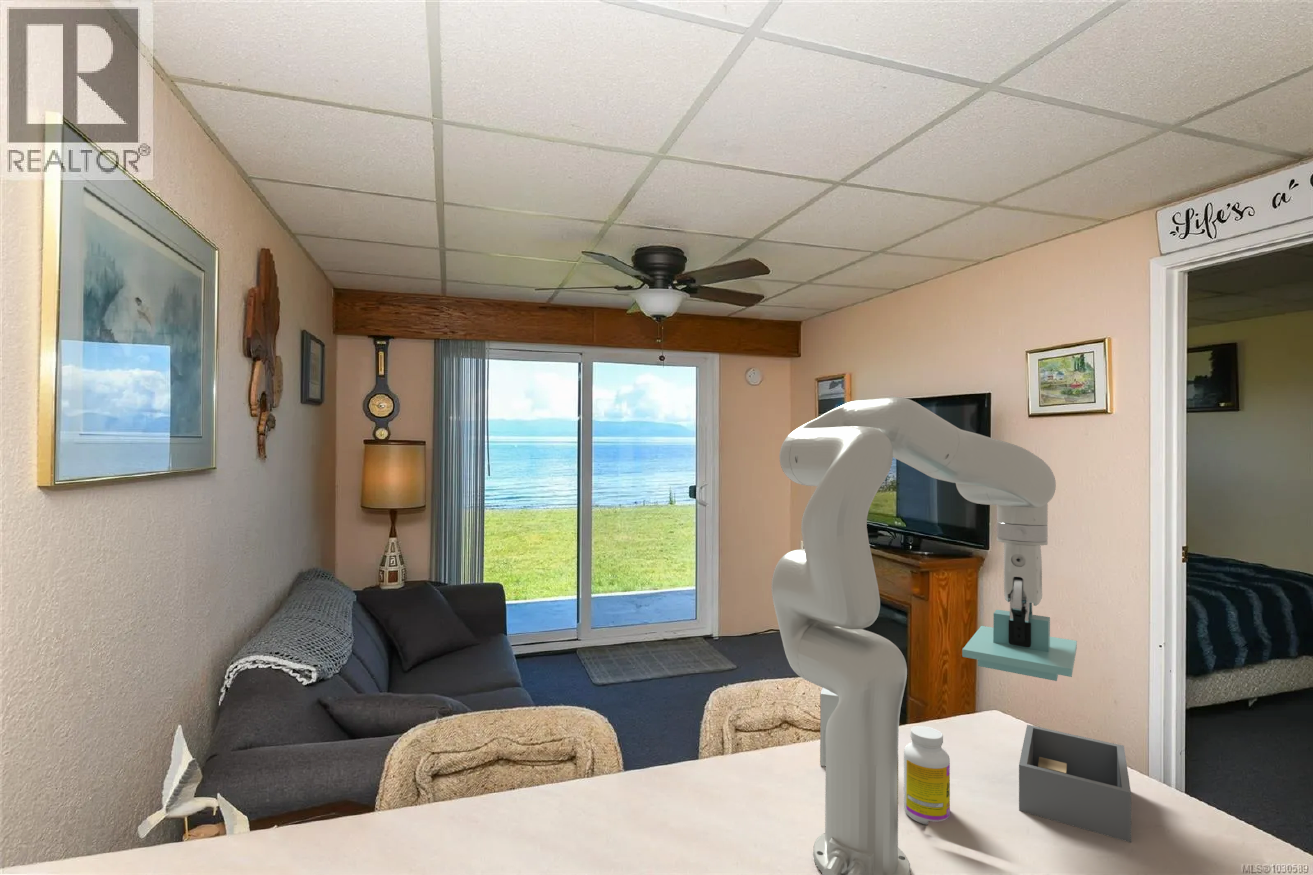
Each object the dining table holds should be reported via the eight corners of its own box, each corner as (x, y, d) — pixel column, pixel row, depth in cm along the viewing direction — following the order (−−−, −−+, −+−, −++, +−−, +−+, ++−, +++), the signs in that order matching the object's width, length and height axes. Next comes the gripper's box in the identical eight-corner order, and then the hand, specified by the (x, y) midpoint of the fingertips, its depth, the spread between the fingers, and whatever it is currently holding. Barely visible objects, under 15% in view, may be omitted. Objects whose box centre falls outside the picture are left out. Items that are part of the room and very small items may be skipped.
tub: (1131, 849, 90) (1131, 792, 90) (1019, 816, 98) (1019, 764, 98) (1124, 794, 105) (1123, 745, 105) (1027, 769, 113) (1027, 724, 113)
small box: (823, 746, 121) (823, 678, 121) (858, 752, 119) (858, 682, 119) (819, 766, 113) (819, 693, 114) (856, 772, 111) (856, 698, 111)
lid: (1071, 687, 94) (1071, 635, 95) (962, 666, 103) (962, 618, 103) (1076, 657, 110) (1076, 612, 110) (981, 640, 119) (981, 599, 119)
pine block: (1066, 791, 104) (1066, 773, 104) (1037, 784, 106) (1037, 766, 106) (1066, 781, 107) (1066, 763, 107) (1039, 774, 109) (1039, 756, 109)
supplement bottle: (954, 830, 94) (955, 743, 95) (908, 824, 96) (908, 739, 96) (943, 806, 101) (944, 725, 101) (900, 801, 102) (900, 721, 102)
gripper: (1043, 540, 98) (1042, 659, 98) (1051, 532, 112) (1050, 636, 111) (989, 536, 103) (988, 649, 102) (1003, 528, 116) (1002, 628, 115)
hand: (1021, 641), depth 107 cm, fingers closed on lid, 3 cm apart
